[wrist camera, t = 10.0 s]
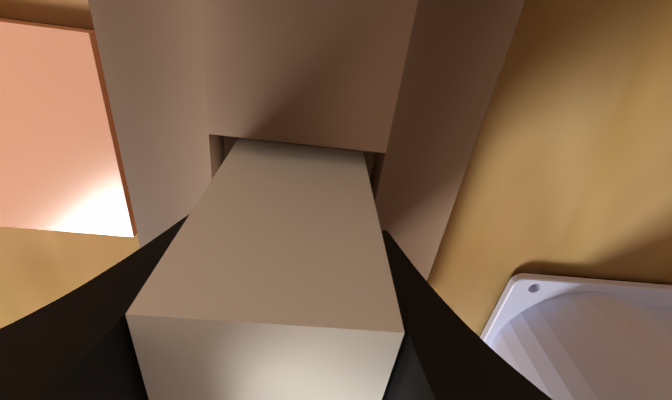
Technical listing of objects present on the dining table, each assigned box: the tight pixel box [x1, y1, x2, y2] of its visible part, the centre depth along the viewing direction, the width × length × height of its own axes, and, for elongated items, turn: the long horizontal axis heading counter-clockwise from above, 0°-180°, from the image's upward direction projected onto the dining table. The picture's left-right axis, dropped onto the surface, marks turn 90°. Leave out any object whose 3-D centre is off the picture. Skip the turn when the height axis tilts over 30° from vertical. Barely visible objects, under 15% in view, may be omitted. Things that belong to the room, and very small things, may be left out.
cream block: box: [125, 138, 405, 400], centre depth 9 cm, size 4×4×7 cm
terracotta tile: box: [0, 18, 137, 237], centre depth 11 cm, size 6×7×1 cm
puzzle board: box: [88, 0, 525, 281], centre depth 10 cm, size 10×20×2 cm, turn 173°
